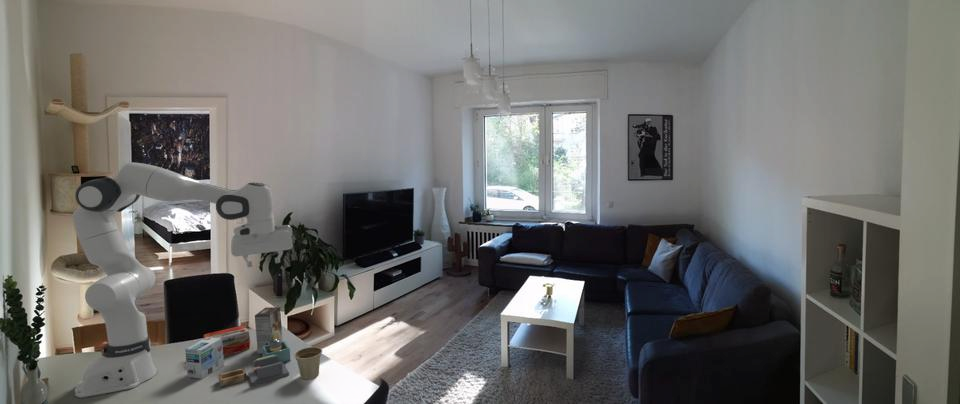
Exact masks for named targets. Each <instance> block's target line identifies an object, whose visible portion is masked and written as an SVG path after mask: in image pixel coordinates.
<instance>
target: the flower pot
mask: <svg viewBox="0 0 960 404" xmlns="http://www.w3.org/2000/svg"><path fill="white" fill-rule="evenodd" d="M322 353H323V349H322V348H321V347H318V346H310V347H305V348H301V349H299V350H297V351H296V352H295V353H294V354H293V356H294V358H295V360H296V363H297V365H298V371H299V376H300V378H301V379H305V380H310V379H314V378H316V377H317V376H319V374H320V364H321V358H322V357H321V356H322Z"/></svg>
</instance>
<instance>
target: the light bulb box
mask: <svg viewBox="0 0 960 404" xmlns="http://www.w3.org/2000/svg"><path fill="white" fill-rule="evenodd" d="M184 351H185V361H186V364H185V365H186V371H187V372H186V373H187V378H196V379H205V378H206V377H207V376H209V375H211V374H213V373H214V372H216V371H218V370H219V369H221V368H222V367H224V366H225V362H224V356H223V345H222V338H211V337H207V338H205V339H204V338H203V339H201V340H200V341H197V342H196V343H194V344H192V345H190V346H188V347H186V348H185V349H184Z"/></svg>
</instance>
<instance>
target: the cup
mask: <svg viewBox="0 0 960 404" xmlns="http://www.w3.org/2000/svg"><path fill="white" fill-rule="evenodd" d="M282 341H283V342H281V347H282V350H278V351H274V352H270V345H266V346H262V348H263V353H262V357H266V356H270V355H278V362H282V363H284V364H285V363H288V362H291V349H290V346H289V345H288V344H287V342H286V341H285V340H282Z"/></svg>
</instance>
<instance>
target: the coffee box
mask: <svg viewBox="0 0 960 404" xmlns="http://www.w3.org/2000/svg"><path fill="white" fill-rule="evenodd" d="M254 320H255V321H254V323H255V337H256V338H255V339H256V347H257V348H256V349H257V354H263V348H262V346H266V345H270V343H269V342H270V341H271V340H273V339H281V342H283V341H284V340H283V330H282V314H281V307H278V306H276V307H274V306H271V307H270V306H269V307H264V308H263V309H262V310H259V311H258V313H256V314H254Z"/></svg>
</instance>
